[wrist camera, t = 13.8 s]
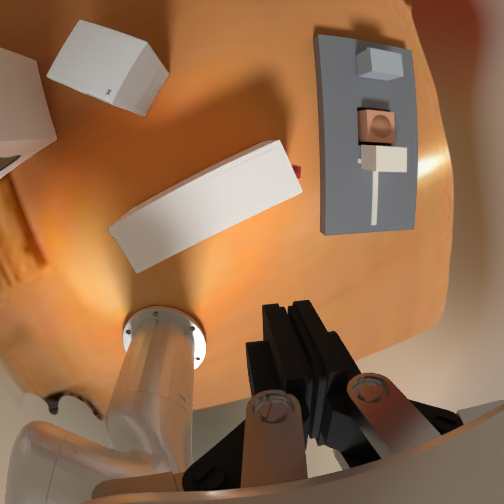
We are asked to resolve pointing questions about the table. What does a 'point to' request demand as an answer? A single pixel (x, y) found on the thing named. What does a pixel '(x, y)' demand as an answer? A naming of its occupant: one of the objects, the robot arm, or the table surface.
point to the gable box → (21, 111)
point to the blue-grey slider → (379, 64)
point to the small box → (110, 67)
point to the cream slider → (384, 158)
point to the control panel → (349, 152)
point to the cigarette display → (206, 204)
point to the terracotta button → (376, 126)
